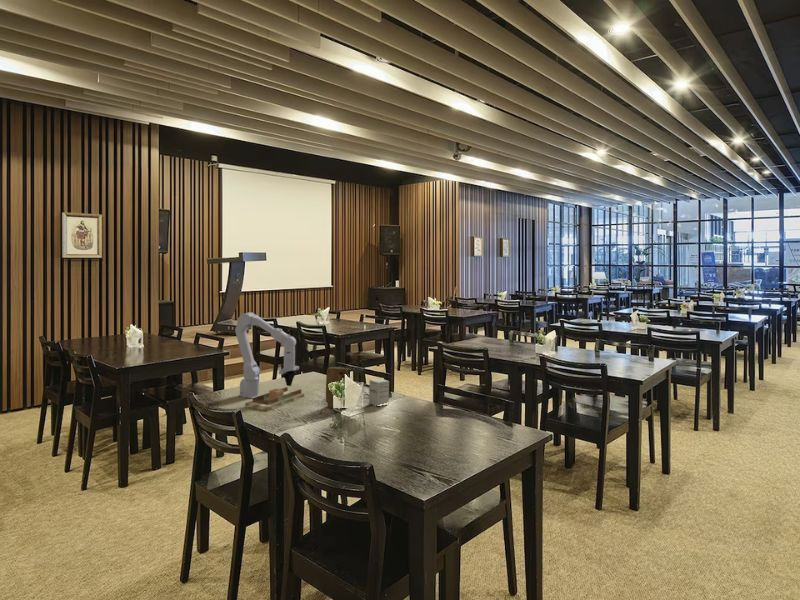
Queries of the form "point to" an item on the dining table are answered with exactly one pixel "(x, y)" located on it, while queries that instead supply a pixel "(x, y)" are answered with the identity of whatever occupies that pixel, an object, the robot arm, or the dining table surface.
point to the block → (333, 376)
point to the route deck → (274, 400)
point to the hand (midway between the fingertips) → (288, 385)
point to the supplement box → (378, 391)
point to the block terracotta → (275, 393)
